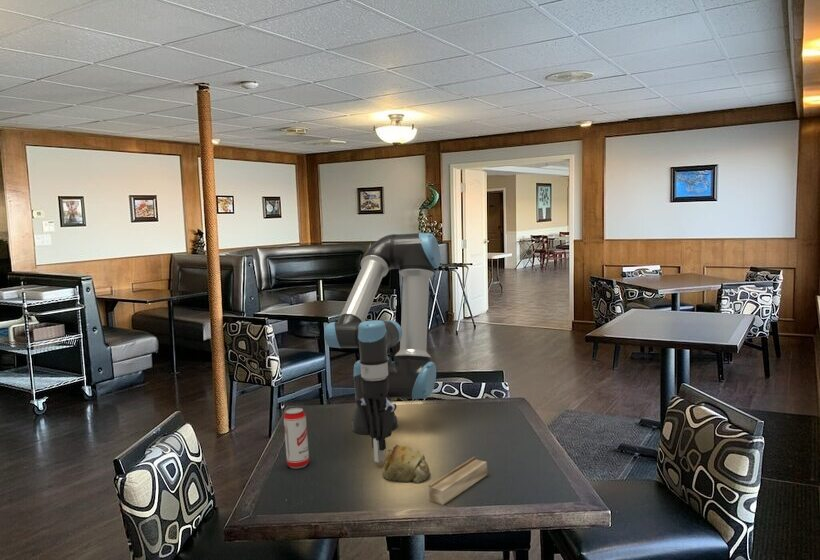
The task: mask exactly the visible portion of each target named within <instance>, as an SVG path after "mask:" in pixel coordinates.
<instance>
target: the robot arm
mask: <svg viewBox="0 0 820 560" xmlns="http://www.w3.org/2000/svg"><path fill="white" fill-rule="evenodd" d="M440 265H441V252H440V246H439V242H438V240H437V238H436V236H435V235H434V234H433V233H429V232H427V233H426V232H417V233H399V234H398V233H397V234H396V233H395V234H394V233H393V234H392V233H391V234H387V235H385V236H383V237H381V238H379V239H378V240H376V241H375V242H373V244H371V246H370V247H369V248H368V249H367V250H366V252H365V253H364V254H363V256H362V258H361V260H360V268H361V269H360V270H359V273H358V275H357V278H356V279H355V282H354V284H353V287H352V289H351V291H350V293H349V295H348V297H347V300H346V302H345V305H344V306H343V309H342V311H341V313H340V315H339V317H338V320H337V321H332V322H328V323H327V324H326V326H325V329H324V335H323V336H324V341H325V343H326V345H327V347H330V348H336V349H337V348H338V349H359V360H357V361H356V362H355V363H354V365H353V375H352V377H353V383H354V385H353V386H354V398H355V408H354V412H353V416H352V419H351V430H352V431H353V432H354V433H357V434H359V435H365V436H366V435H367V436H368V435H369V436H370V438H371V448H372V449H373V457H374V458H373V459H374V462H375V463H380V462H382V461H386V455H385V450H386V449H387V447H386V438H389V437H391V436H392V431H394V430H396V429H397V428H398V425H399V423H398V417H397V415H396V414H395V412H396V410H397V408H398V407H397V404H396V403H392V398H393V399H394V398H395V399H397V398H398V399H401V398H402V399H413V400H418V399H423V400H424V399H427V398H429V397H430V396H431V394H432V393H433V390H434V388H435V384H436V379H437V366H436V364H435V362H433V361H432V357H431V355H430V354H429V353H428V351H427V344H428V343H427V341H428V340H427V339H428V320H429V318H428V316H429V314H428V313H429V295H430V294H429V293H430V290H429V289H430V279H431V278H432V277H433V276H434V275H435V269H437V268H439V267H440ZM396 269H397V270H398V274H400V276H401V277H402V278H403V279H402V296H401V297H402V299H401V318H400V319H401V321H400V324H399V323H398V321H395V320H389V319H388V320H384V321H383V320H380V319H379V320H377V319H376V320H375V319H374V320H373V319H372V320H366V319H367V316H368V314H369V311H370V309H371V306H372V304H373V303H374V299H375V296H376V294H377V292H378V289H379V287H380V285H381V282H382V279H383V278H385V277H386V276H387V275H388V273H389V271H391V270H396ZM399 342H400V343H399ZM397 344H399V350H398V352H397V353H395V355H394V361H393V360H392V361H391V360H390V357H389V356H388V350H390V349H391V348H393V347H395V346H397Z"/></svg>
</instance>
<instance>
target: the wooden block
mask: <svg viewBox="0 0 820 560" xmlns="http://www.w3.org/2000/svg"><path fill="white" fill-rule="evenodd" d="M486 476H488V462H487V461H484V460H480V459H476V456H473V457H471V458H469V459H468V460H466V461H465V462H463V463H461V464H460V465H458V466H456V467H455V468H453V469H452V470H450V471H448V472H447V473H445V474H444V475H442V476H440V477H439V478H437V479H436V480H434V481H432V482H431V483H429V484H428V495H429V502H432V503H435V504H439V505H442V506H444V505H446V504H447V503H448V502H449V501H450V502H451V500H453V499H454V498H455V497H457V496H459V495H460V494H461V493H463V492H465V491H466V490H467V489H469V488H470V487H472V486H473V485H475V484H476V483H477V482H479V481H481V480H482V479H483V478H485V477H486Z"/></svg>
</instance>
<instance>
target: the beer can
mask: <svg viewBox="0 0 820 560" xmlns="http://www.w3.org/2000/svg"><path fill="white" fill-rule="evenodd" d="M283 428H284V441H285V442H284V443H285V454H286V457H285V458H286V464H287V466H288V467H290V468H291V469H295V470H296V469H297V470H298V469H303V468H305V467H307V465H308V464H309V462H310V452H309V441H308V440H309V439H308V426H307V414H306V413H305V411H304V409H303V407H291V408H287V409H285V411H284V415H283Z"/></svg>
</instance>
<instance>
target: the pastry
mask: <svg viewBox="0 0 820 560" xmlns="http://www.w3.org/2000/svg"><path fill="white" fill-rule="evenodd" d="M425 458H426V457H425V455H424V454H423V453H421V452H420V451H417V450H413V449H412V448H411V447H410V446H407V445H400V444H399V445H398V444H396V445H395V446H394V447H392V449H389V450H388V454H387V456H385V460H384V462H385V463H384V465H383V467H382V469H381V473H382V475H383V477H384V478H385V479H387V480H389V481H392V482H399V483H400V482H401V483H402V482H403V483H414V484H421V483H422V482H423V481H425V480H427V478H428V477H429V475H430V472H431V471H430V470H431V469H430V467H429V464H428V462H427V461H426V459H425Z"/></svg>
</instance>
